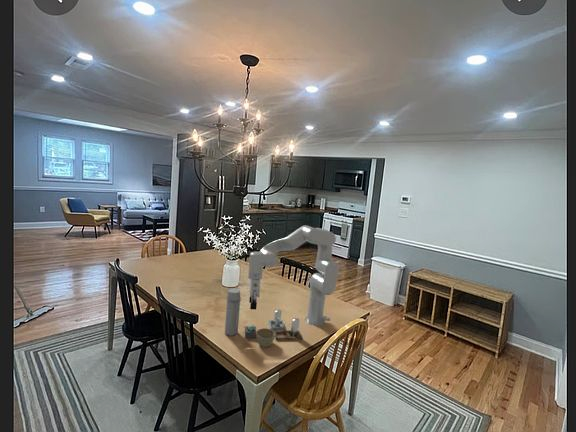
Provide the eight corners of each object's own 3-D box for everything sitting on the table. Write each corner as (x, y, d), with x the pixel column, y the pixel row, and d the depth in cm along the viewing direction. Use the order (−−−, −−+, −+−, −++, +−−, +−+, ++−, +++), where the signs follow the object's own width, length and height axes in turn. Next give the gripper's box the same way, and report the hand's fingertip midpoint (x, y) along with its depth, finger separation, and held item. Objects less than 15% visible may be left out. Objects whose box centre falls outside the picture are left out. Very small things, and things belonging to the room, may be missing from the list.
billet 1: (279, 325, 184) (280, 309, 182) (280, 328, 180) (282, 312, 178) (272, 325, 183) (274, 309, 181) (273, 328, 179) (275, 312, 177)
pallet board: (298, 334, 176) (299, 330, 176) (301, 341, 169) (301, 337, 169) (273, 335, 173) (274, 330, 173) (275, 342, 166) (276, 337, 166)
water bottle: (221, 331, 172) (224, 289, 168) (234, 328, 176) (237, 286, 173) (229, 339, 164) (232, 295, 161) (242, 335, 169) (245, 293, 165)
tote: (282, 324, 186) (282, 320, 186) (284, 331, 178) (284, 327, 178) (268, 324, 184) (269, 320, 184) (270, 331, 177) (270, 327, 176)
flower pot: (269, 353, 156) (270, 340, 155) (251, 347, 159) (252, 334, 158) (277, 343, 165) (278, 331, 164) (260, 338, 168) (261, 326, 167)
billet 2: (296, 334, 174) (298, 317, 172) (298, 338, 170) (300, 321, 169) (289, 334, 173) (291, 317, 172) (291, 338, 169) (292, 321, 168)
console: (255, 333, 173) (255, 326, 173) (256, 338, 168) (256, 332, 167) (244, 333, 172) (245, 326, 172) (245, 339, 166) (245, 332, 166)
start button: (253, 329, 171) (253, 324, 171) (253, 332, 168) (254, 327, 168) (247, 329, 171) (248, 324, 170) (248, 332, 168) (248, 327, 167)
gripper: (263, 281, 157) (261, 313, 160) (260, 269, 174) (258, 299, 176) (249, 280, 156) (246, 313, 158) (247, 269, 172) (245, 298, 175)
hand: (252, 305), depth 167 cm, fingers open, 7 cm apart
